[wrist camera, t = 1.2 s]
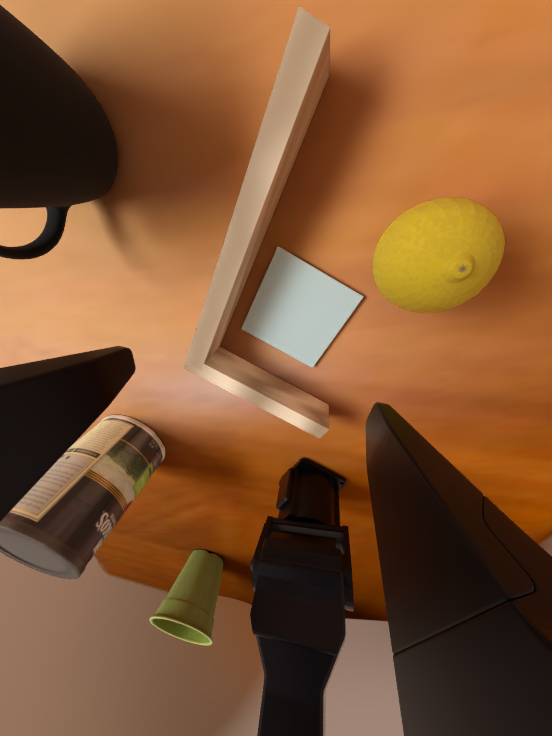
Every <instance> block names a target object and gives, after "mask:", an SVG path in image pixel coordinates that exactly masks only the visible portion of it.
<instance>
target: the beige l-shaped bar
mask: <svg viewBox="0 0 552 736" xmlns="http://www.w3.org/2000/svg"><path fill="white" fill-rule="evenodd" d="M329 75H330V27H329V26H327V25H326V24H324V23H323V22H321V21H320V20H318V19H317V18H315V17H314V16H313V15H311V14H310V13H308V12H307V11H305V10H304V9H302V8H301V7H300V6H299V8H298V11H297V14H296V18H295V21H294V24H293V27H292V30H291V33H290V36H289V40H288V43H287V46H286V49H285V52H284V55H283V58H282V62H281V65H280V68H279V71H278V74H277V77H276V80H275V84H274V87H273V90H272V93H271V96H270V99H269V102H268V106H267V109H266V112H265V115H264V118H263V121H262V124H261V128H260V131H259V134H258V137H257V140H256V143H255V146H254V150H253V153H252V156H251V159H250V162H249V165H248V168H247V171H246V175H245V178H244V181H243V184H242V187H241V190H240V193H239V197H238V200H237V203H236V206H235V209H234V212H233V215H232V219H231V222H230V225H229V228H228V231H227V234H226V237H225V241H224V244H223V247H222V250H221V253H220V256H219V259H218V263H217V266H216V269H215V272H214V275H213V278H212V281H211V285H210V288H209V291H208V294H207V297H206V300H205V303H204V307H203V310H202V313H201V316H200V319H199V322H198V325H197V329H196V332H195V335H194V338H193V341H192V344H191V347H190V351H189V354H188V357H187V360H186V363H185V366H184V369H186V370H188V371H190V372H192V373H194V374H196V375H198V376H200V377H202V378H204V379H206V380H208V381H209V382H211V383H213V384H215V385H217V386H219V387H221V388H223V389H225V390H227V391H229V392H231V393H233V394H235V395H236V396H238V397H240V398H242V399H244V400H246V401H248V402H250V403H252V404H254V405H256V406H258V407H260V408H262V409H263V410H265V411H267V412H269V413H271V414H273V415H275V416H277V417H279V418H281V419H283V420H285V421H287V422H289V423H290V424H292V425H294V426H296V427H298V428H300V429H302V430H304V431H306V432H308V433H310V434H312V435H314V436H316V437H318V438H319V439H320V438H321V437H322V436H323V435H324V434H325V433H326V432H327V431H328V430H329V405H328V404H326V403H325V402H323V401H321V400H319V399H317V398H315V397H313V396H311V395H310V394H308V393H306V392H304V391H302V390H300V389H298V388H296V387H295V386H293V385H291V384H289V383H287V382H285V381H283V380H281V379H280V378H278V377H276V376H274V375H272V374H270V373H268V372H267V371H265V370H263V369H261V368H259V367H257V366H255V365H253V364H252V363H250V362H248V361H246V360H244V359H242V358H240V357H238V356H237V355H235V354H233V353H231V352H229V351H227V350H225V349H223V348H222V347H220V345H221V343H222V340H223V338H224V335H225V333H226V330H227V328H228V325H229V323H230V320H231V318H232V315H233V313H234V310H235V308H236V305H237V303H238V300H239V298H240V295H241V293H242V290H243V288H244V286H245V283H246V281H247V278H248V276H249V273H250V271H251V268H252V266H253V263H254V261H255V258H256V256H257V253H258V251H259V248H260V246H261V243H262V241H263V238H264V236H265V233H266V231H267V229H268V226H269V224H270V221H271V219H272V216H273V214H274V211H275V209H276V206H277V204H278V201H279V199H280V196H281V194H282V191H283V189H284V186H285V184H286V181H287V179H288V176H289V174H290V172H291V169H292V167H293V164H294V162H295V159H296V157H297V154H298V152H299V149H300V147H301V144H302V142H303V139H304V137H305V134H306V132H307V129H308V127H309V124H310V122H311V119H312V117H313V115H314V112H315V110H316V107H317V105H318V102H319V100H320V97H321V95H322V92H323V90H324V87H325V85H326V82H327V80H328V77H329Z"/></svg>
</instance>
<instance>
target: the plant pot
mask: <svg viewBox="0 0 552 736" xmlns="http://www.w3.org/2000/svg"><path fill="white" fill-rule="evenodd" d="M222 570H223V560H222V559H221V558H220V557H219V556H218V555H216V554H214V553H213V554H210V553H208V552H207V551H206V550H202V549H201V550H194V551H193V552H192V554H191V555H190V557H189V559H188V561H187V562H186V564H185V566H184V568H183V569H182V571H181V573H180V574H179V576H178V578H177V580H176V581H175V583H174V585H173V586H172V588H171V590H170V592H169V593H168V595H167V597H166V599H165V600H163V602H162V603H161V605H160V607H159V609H158V610H157V612H156V613H155V615H154V616H151V617H150V620H149V621H150V622H151V623H152V624H153V625H154V626H155V627H157V628H158V629H160V630H162V631H163V632H165V633H167V634H169V635H171V636H174V637H176V638H179V639H181V640H184V641H187V642H191V643H194V644H199V645H211V644H212V642H213V640H212V638H211V634H212V629H213V623H214V618H213V617H214V612H215V607H216V601H217V596H218V591H219V585H220V580H221V575H222Z"/></svg>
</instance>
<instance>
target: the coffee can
mask: <svg viewBox="0 0 552 736" xmlns="http://www.w3.org/2000/svg"><path fill="white" fill-rule="evenodd" d="M165 454H166V453H165V447H164V445H163V443H162V441H161V439H160V438H159V437H158V436H157V435H156V433H155V432H154V431H153V430H152V429H150V428H149V427H148V426H146V425H145V424H143V423H142V422H140V421H138V420H136V419H133V418H131V417H128V416H123V415H110V416H107V417H105V418H104V419H103V420H102V421H101V422H100V423H99V424H98V425H96V426H95V427H94V428H93V429H92V430H90V431H89V432H88V433H87V434H86V435H84V436H83V437H82V438H81V439H80V440H78V441H77V442H76V443H75V444H74V445H72V446H71V447H70V448H69V449H68V450H67V451H66V452H65V453H64V454H63V455H62V456H61V458H60V459H59V460H58V461H57V462H56V463H55V464H54V465H53V466H52V467H51V468H50V469H49V470H48V471H47V472H46V474H45V475H44V476H43V477H42V478H41V479H40V480H39V481H38V482H37V483H36V484H35V485H34V486H33V487H32V489H31V490H30V491H29V492H28V493H27V494H26V495H25V496H24V497H23V498H22V499H21V500H20V501H19V502H18V504H17V505H16V506H15V507H14V508H13V509H12V510H11V511H10V512H9V513H8V514H7V515H6V516H5V517H4V519H3V520H2V521H1V522H0V552H2V553H3V554H4V555H6V556H8V557H10V558H12V559H14V560H16V561H17V562H19V563H21V564H24V565H26V566H28V567H30V568H33V569H36V570H37V571H40V572H43V573H46V574H49V575H52V576H56V577H59V578H64V579H76V578H79V577H80V575H81V574H82V573H83V571H84V570H85V567H86V565H87V564H88V562H89V561H90V560H91V558H92V557H93V555H94V554H95V552H96V551H97V550H98V548H99V547H100V546H101V544H102V543H103V541H104V540H105V539H106V537H107V536H108V535H109V533H110V532H111V530H112V529H113V528H114V526H115V525H116V523H117V522H118V521H119V519H120V518H121V517H122V515H123V514H124V513H125V511H126V510H127V508H128V507H129V506H130V504H131V503H132V501H133V500H134V499H135V497H136V496H137V495H138V493H139V492H140V490H141V489H142V488H143V486H144V485H145V484H146V482H147V481H148V479H149V478H150V477H151V475H152V474H153V473H154V471H155V470H156V469H157V467H158V466H159V464H160V463H161V462H162V461H163V460H164V458H165Z"/></svg>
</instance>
